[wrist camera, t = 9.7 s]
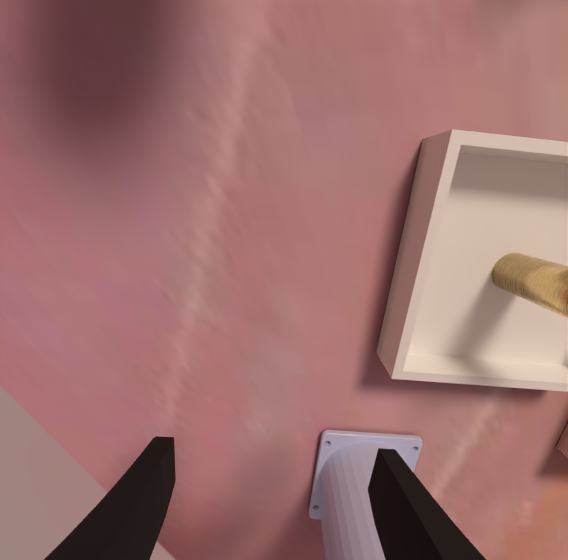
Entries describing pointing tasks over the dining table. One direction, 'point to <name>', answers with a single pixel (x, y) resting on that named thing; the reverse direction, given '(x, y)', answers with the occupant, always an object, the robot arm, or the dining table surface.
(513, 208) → the tray
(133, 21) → the dining table surface
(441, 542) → the robot arm
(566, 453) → the grey square socket block
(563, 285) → the pin
